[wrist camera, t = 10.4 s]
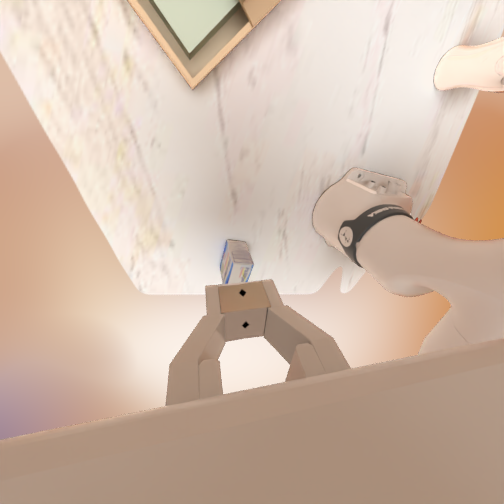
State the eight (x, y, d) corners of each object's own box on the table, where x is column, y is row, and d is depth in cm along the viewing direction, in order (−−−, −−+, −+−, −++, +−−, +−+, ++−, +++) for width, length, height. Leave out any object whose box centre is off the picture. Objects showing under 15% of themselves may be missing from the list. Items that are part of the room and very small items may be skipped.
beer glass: (423, 81, 39) (527, 74, 27) (455, 32, 35) (590, -2, 23) (445, 101, 41) (548, 102, 29) (476, 56, 38) (607, 37, 26)
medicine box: (226, 238, 48) (232, 262, 41) (245, 241, 49) (254, 264, 42) (219, 267, 52) (223, 293, 45) (237, 268, 53) (244, 294, 46)
